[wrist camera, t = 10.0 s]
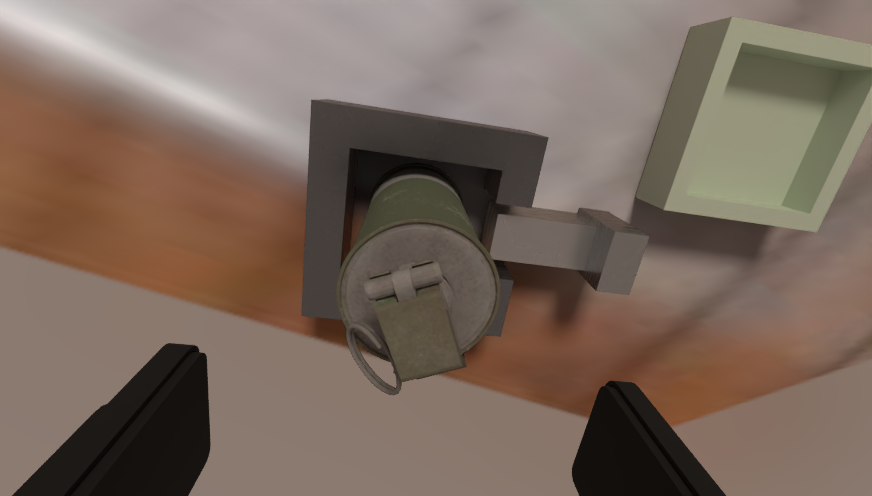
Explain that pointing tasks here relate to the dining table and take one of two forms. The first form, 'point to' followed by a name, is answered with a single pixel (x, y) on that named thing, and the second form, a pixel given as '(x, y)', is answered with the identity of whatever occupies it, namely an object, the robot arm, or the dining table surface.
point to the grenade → (416, 278)
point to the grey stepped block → (567, 243)
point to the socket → (407, 136)
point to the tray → (759, 124)
